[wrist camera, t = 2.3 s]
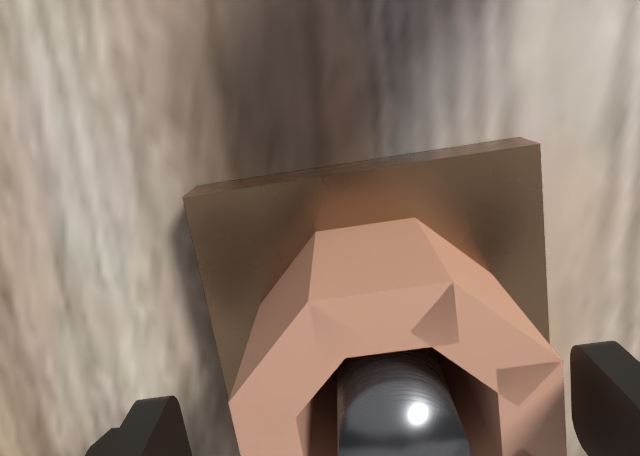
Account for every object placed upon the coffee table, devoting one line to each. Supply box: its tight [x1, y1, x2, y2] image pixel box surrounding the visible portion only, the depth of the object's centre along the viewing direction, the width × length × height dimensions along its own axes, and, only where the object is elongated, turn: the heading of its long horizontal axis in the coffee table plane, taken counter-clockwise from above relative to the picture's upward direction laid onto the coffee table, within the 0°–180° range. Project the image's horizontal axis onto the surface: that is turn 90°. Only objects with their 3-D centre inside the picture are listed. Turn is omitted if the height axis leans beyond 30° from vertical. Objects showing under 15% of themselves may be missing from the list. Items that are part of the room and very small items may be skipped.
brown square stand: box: [183, 137, 550, 456], centre depth 13 cm, size 9×9×6 cm
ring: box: [229, 217, 567, 456], centre depth 12 cm, size 6×6×4 cm
